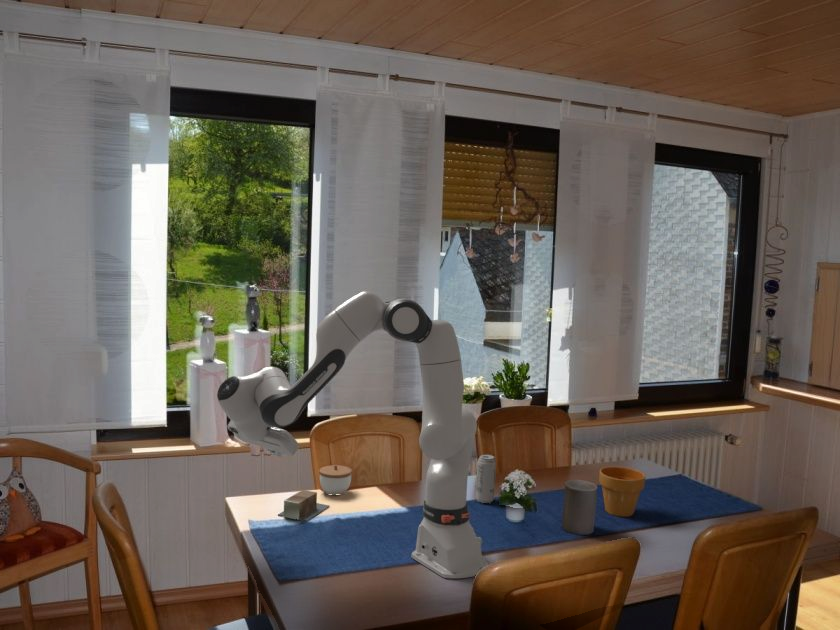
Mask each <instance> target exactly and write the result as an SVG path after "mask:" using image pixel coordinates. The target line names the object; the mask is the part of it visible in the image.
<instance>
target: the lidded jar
mask: <svg viewBox="0 0 840 630" xmlns="http://www.w3.org/2000/svg"><path fill="white" fill-rule="evenodd" d="M318 471H319V477H318V478H319V484H320V487H321V489H322V490H323V492H324V493H325V494H326V493H327V494H332V495H336V494H342V493H344V494H345V492H346V491H347V490H348V489H349V488H350V486H351V481H352V474H353V473H352V472H353V470H352V469H351V468H350V467H348V466H345V465H338V464H334V465H326V466H323V467H321V468H319V470H318ZM327 494H326V495H327ZM342 495H343V494H342Z"/></svg>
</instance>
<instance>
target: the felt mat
mask: <svg viewBox="0 0 840 630" xmlns="http://www.w3.org/2000/svg"><path fill="white" fill-rule="evenodd" d="M329 506H330V505H328V504H324V503H319V502H317V507H316V509H314V510H313V511H311V512H310V513H308V514H306V515H305V516H303V517H302V518H300V519H299V520H298V521H301V520H302V522H306V521H307V522H309V521H310V520H312V519H313V518H315V517H316V516H318V515H320V514H321V513H322V511H323V510H324V511H326V510H327V509H329V508H330V507H329ZM328 507H329V508H328ZM326 508H327V509H326ZM325 509H326V510H325ZM324 511H323V512H324ZM319 513H320V514H319ZM277 516H278V517H282V516H284V510H283V511H281V512H280V513H278V514H277ZM311 518H312V519H311ZM308 520H309V521H308Z"/></svg>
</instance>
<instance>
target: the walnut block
mask: <svg viewBox="0 0 840 630" xmlns="http://www.w3.org/2000/svg"><path fill="white" fill-rule="evenodd" d="M317 498H318V492H316V491H312V490H308V489H307V490H305V489H301V490H300V491H299V492H298V491H297V492H296V493H295V494H294V495H291V496H289V497H288V498H285V500H283V511H284V517H283V518H288V519H291V520H296V519H297V521H300V520H299V519H300V518H302V517H303V516H305V515H306V514H308V513H310V512H311V511H313V510H314V509H316V507H317V503H318V501H317V500H318V499H317Z"/></svg>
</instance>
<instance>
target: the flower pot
mask: <svg viewBox="0 0 840 630" xmlns="http://www.w3.org/2000/svg"><path fill="white" fill-rule="evenodd" d="M598 478H599V484H600V486H601V487H602V488H601V489H602V496H603V501H604V502H603V503H604V508H605V509H604V510H605V512H607V513H608V514H610V515H613V516H616V517H619V518H620V517H621V518H623V517H624V518H628V517H631V516H633V515H634V513H635V510H636V508H637V504H638V501H639V498H640V494H641V491H642V490H643V489H644V488H645V483H646V475H645V473H643V472H641V471H639V470H637V469H634V468H630V467H625V466H624V467H623V466H605V467H602V468H600V470H599V477H598Z"/></svg>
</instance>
